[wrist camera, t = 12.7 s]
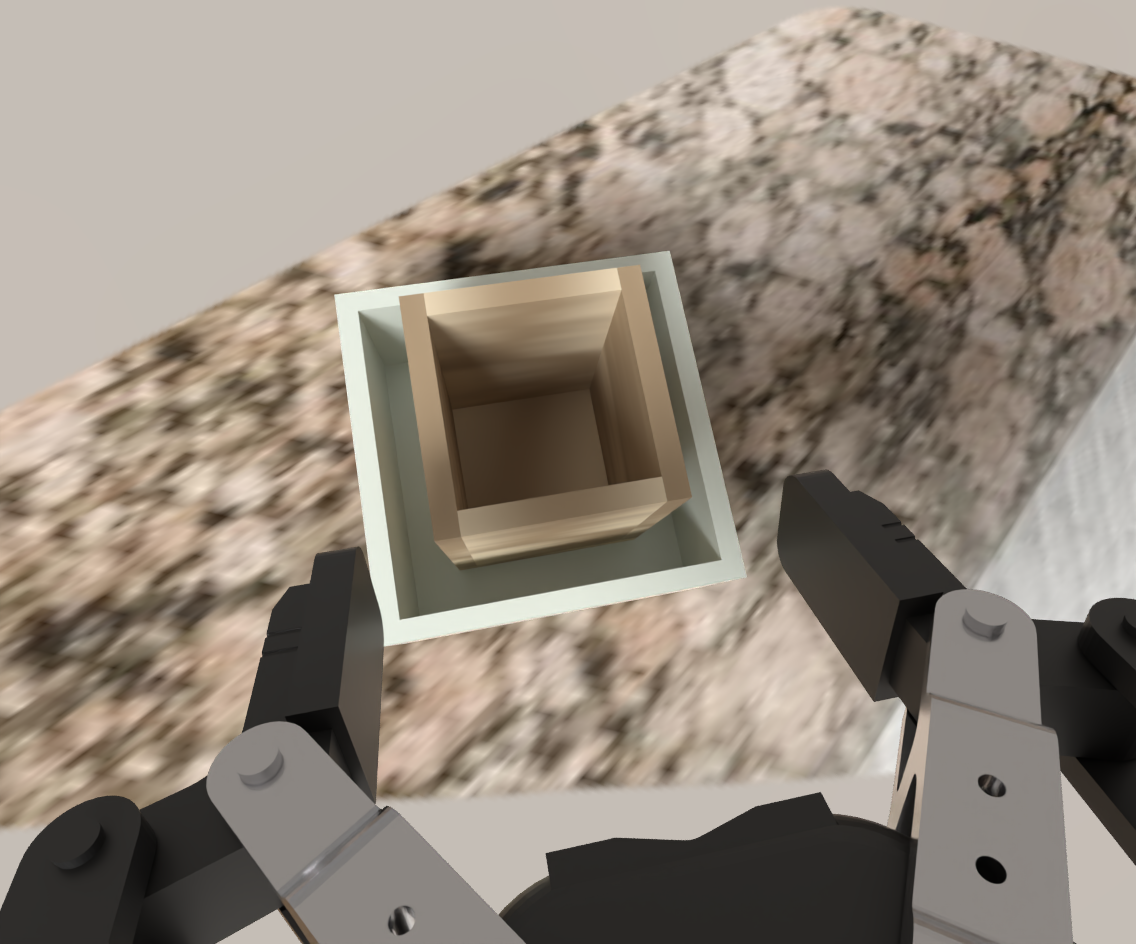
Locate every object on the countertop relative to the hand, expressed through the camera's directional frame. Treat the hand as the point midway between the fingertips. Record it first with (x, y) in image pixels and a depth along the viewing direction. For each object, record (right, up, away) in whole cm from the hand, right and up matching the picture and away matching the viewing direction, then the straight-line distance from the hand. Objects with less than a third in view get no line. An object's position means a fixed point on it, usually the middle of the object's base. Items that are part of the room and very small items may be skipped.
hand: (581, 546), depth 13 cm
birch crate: (-1, +1, +11) cm, 11 cm away
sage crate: (-2, +1, +12) cm, 12 cm away
